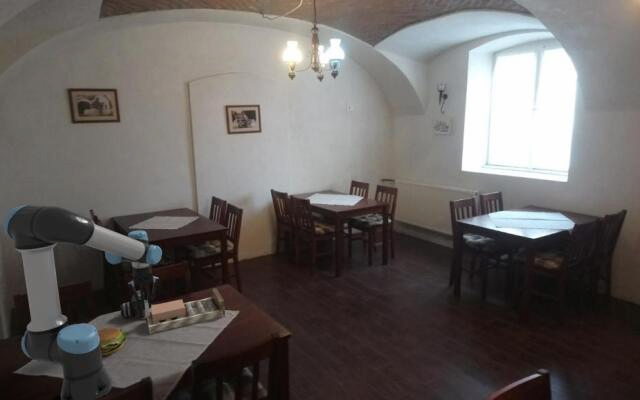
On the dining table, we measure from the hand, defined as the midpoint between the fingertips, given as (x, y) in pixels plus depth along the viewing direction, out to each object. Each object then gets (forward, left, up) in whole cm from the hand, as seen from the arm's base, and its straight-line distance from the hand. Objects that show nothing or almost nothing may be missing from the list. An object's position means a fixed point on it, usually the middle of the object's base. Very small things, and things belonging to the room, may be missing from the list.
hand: (147, 315), depth 186 cm
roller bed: (+16, 0, -5) cm, 16 cm away
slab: (+9, 0, -2) cm, 9 cm away
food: (-16, -13, -5) cm, 22 cm away
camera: (-6, +15, -5) cm, 17 cm away
